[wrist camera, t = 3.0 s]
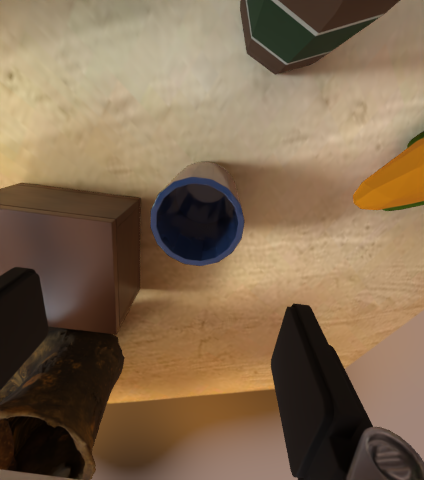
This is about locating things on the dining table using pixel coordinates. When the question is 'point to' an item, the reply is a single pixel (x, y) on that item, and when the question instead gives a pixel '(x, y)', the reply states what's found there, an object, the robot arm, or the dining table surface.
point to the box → (95, 206)
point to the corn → (396, 181)
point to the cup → (198, 215)
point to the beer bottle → (303, 28)
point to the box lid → (66, 264)
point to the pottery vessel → (58, 404)
